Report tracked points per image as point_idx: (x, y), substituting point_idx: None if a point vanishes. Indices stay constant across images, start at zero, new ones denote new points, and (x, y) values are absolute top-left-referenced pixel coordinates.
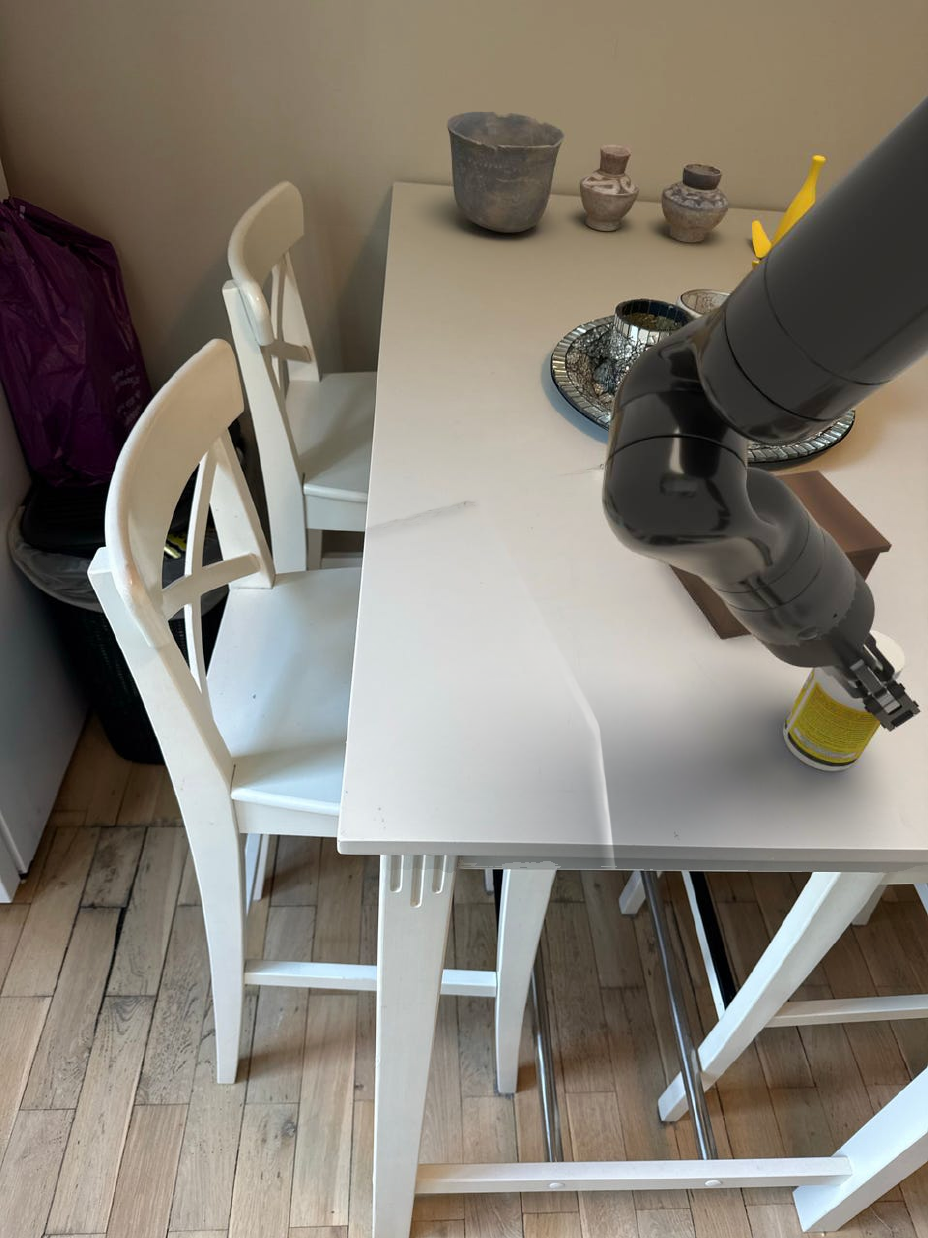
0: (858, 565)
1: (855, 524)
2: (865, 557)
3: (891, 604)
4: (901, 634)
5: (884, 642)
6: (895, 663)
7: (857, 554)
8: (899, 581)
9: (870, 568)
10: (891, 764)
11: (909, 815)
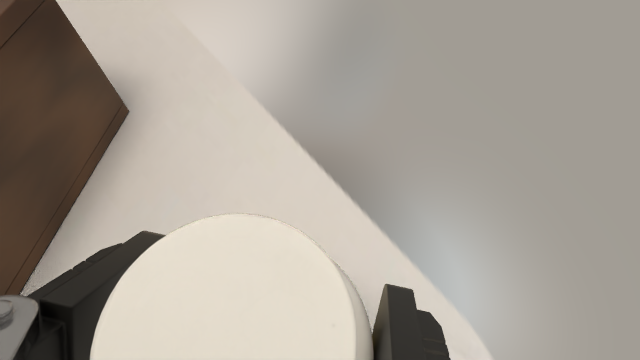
0: (43, 42)
1: None
2: (34, 20)
3: (160, 49)
4: (203, 76)
5: (223, 251)
6: (319, 303)
7: (9, 26)
8: (143, 15)
9: (72, 30)
10: (369, 275)
11: (460, 333)
